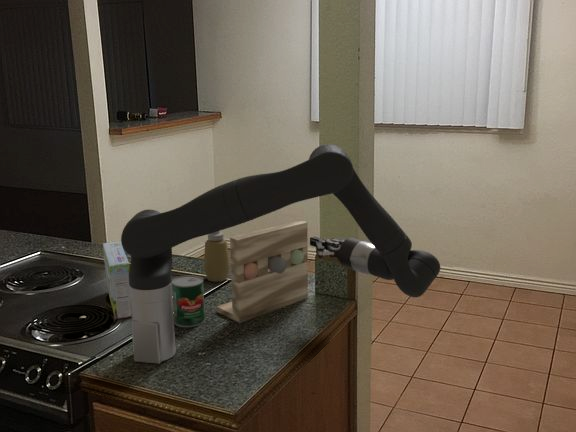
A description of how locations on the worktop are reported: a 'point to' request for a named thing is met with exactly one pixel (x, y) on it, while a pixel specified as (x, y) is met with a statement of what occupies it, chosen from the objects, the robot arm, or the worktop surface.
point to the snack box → (117, 279)
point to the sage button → (297, 257)
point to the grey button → (277, 264)
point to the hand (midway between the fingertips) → (311, 240)
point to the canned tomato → (188, 301)
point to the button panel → (267, 271)
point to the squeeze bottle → (216, 257)
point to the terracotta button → (250, 270)
